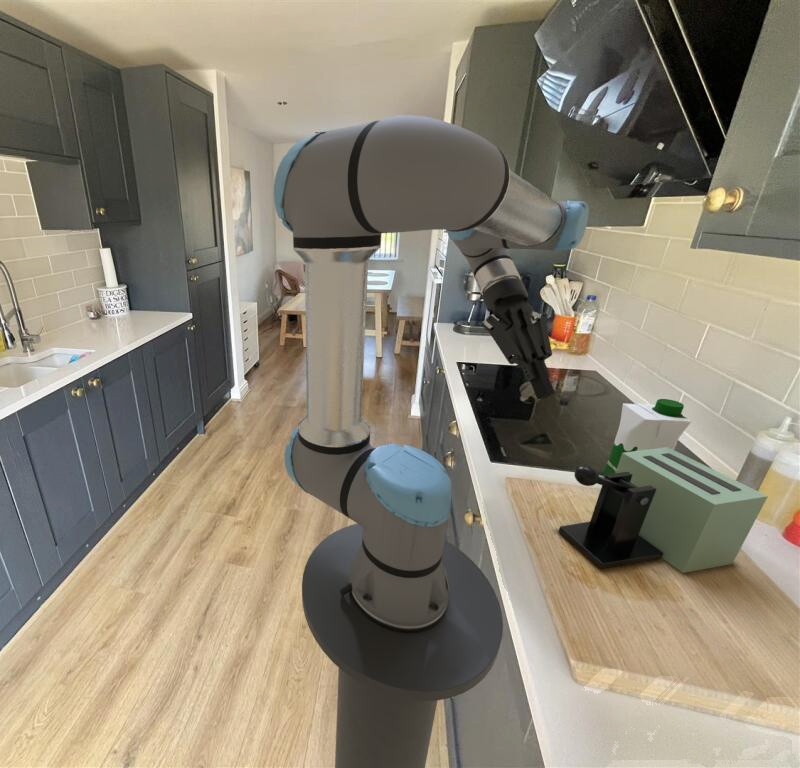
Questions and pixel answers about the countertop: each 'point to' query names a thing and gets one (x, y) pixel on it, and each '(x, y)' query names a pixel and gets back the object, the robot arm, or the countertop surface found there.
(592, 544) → the lever bracket
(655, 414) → the milk carton
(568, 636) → the countertop surface
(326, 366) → the robot arm
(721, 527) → the toaster
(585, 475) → the black lever handle
